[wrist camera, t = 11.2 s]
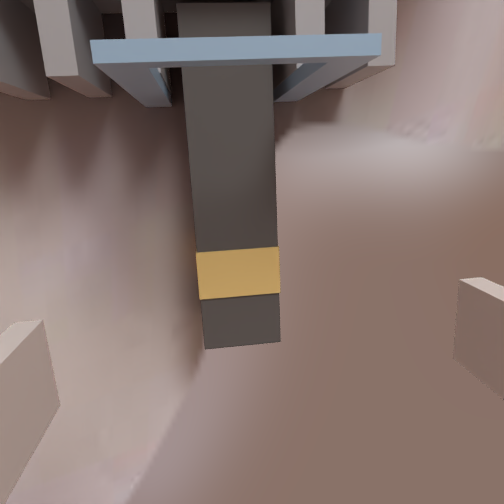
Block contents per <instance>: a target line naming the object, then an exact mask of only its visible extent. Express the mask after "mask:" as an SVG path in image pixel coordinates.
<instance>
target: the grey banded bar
mask: <svg viewBox="0 0 504 504" xmlns="http://www.w3.org/2000/svg"><path fill="white" fill-rule="evenodd" d="M176 7H177V19H178V31H179V38H192V37H236V36H271V5H270V3H176ZM181 68H182V80H183V92H184V104H185V116H186V128H187V140H188V152H189V164H190V176H191V188H192V200H193V213H194V225H195V237H196V262H197V274H198V286H199V298H200V300H201V309H202V321H203V333H204V345H205V349H214V348H223V347H234V346H242V345H243V346H244V345H253V344H263V343H274V342H280V307H279V293H280V262H279V246H278V240H277V207H276V176H275V175H276V173H275V139H274V106H273V72H272V64H262V65H230V66H197V67H181Z"/></svg>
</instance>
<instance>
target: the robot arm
mask: <svg viewBox="0 0 504 504" xmlns="http://www.w3.org/2000/svg"><path fill="white" fill-rule="evenodd" d="M453 359H454V360H455V361H457V362H458V363H459V364H460V365H462V366H463V367H464V368H465V369H466V370H468V371H469V372H470V373H472V374H473V375H474V376H475V377H476V378H478V379H479V380H480V381H481V382H482V383H484V384H485V385H486V386H487V387H489V388H490V389H491V390H492V391H493V392H495V393H496V394H497V395H498V396H500V397H501V398H502V399H503V400H504V287H503V286H501V285H498V284H496V283H494V282H491V281H489V280H487V279H485V278H482V277H481V278H469V279H460V280H459V289H458V301H457V314H456V326H455V338H454V350H453ZM59 407H60V401H59V396H58V391H57V386H56V381H55V377H54V372H53V367H52V362H51V357H50V352H49V347H48V342H47V337H46V332H45V327H44V322H43V320H35V321H25V322H15V323H13V324H12V325H11V326H10V327H9V328H8V329H6V330H5V331H4V332H3V333H2V334H1V335H0V504H5V502H6V501H7V499H8V497H9V495H10V494H11V492H12V490H13V488H14V486H15V485H16V483H17V481H18V479H19V478H20V476H21V474H22V472H23V470H24V469H25V467H26V465H27V463H28V462H29V460H30V458H31V456H32V455H33V453H34V451H35V449H36V447H37V446H38V444H39V442H40V440H41V439H42V437H43V435H44V433H45V431H46V430H47V428H48V426H49V424H50V423H51V421H52V419H53V417H54V416H55V414H56V412H57V410H58V408H59Z"/></svg>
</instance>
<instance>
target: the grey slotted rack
mask: <svg viewBox="0 0 504 504" xmlns="http://www.w3.org/2000/svg"><path fill="white" fill-rule="evenodd" d="M176 3H270V5H271V36H279V35H323V34H366V33H382V42H381V56H379V57H377V58H375V59H373V60H371V61H370V62H368V63H366V64H364V65H362V66H361V67H359V68H357V69H355V70H353V71H351V72H350V73H348V74H346V75H344V76H342V77H341V78H339V79H337V80H335V81H333V82H331V83H330V84H328V85H326V86H325V89H334V88H346V87H349V86H351V85H353V84H355V83H357V82H359V81H362V80H364V79H366V78H368V77H370V76H373V75H375V74H377V73H379V72H381V71H383V70H386V69H388V68H390V67H392V66H394V65H395V50H396V21H397V0H0V92H2V93H5V94H8V95H12V96H15V97H18V98H21V99H25V100H46V99H51V96H50V90H49V85H48V79H47V77H48V78H50V79H52V80H54V81H56V82H58V83H60V84H62V85H64V86H66V87H68V88H70V89H72V90H74V91H77V92H79V93H81V94H83V95H85V96H87V97H89V98H98V97H112V90H111V82H110V77H109V76H108V75H106V74H105V73H104V72H103V71H102V70H100V69H99V68H98V67H97V66H96V65H94V64H93V59H92V52H91V45H90V40H105V37H104V29H103V22H102V14H101V13H123V20H124V28H125V37H126V39H149V38H167V37H166V27H165V17H164V12H177V7H176ZM302 64H303V63H295V64H272V72H273V90H274V89H275V88H276V87H277V86H279V85H280V84H281V83H282V82H283V81H284V80H285V79H286V78H288V77H289V76H290V75H291V74H292V73H293V72H294V71H295V70H297V69H298V68H299V67H300V66H301V65H302ZM157 69H158V71H159V73H160V74H161V76H162V78H163V80H164V82H165V84H166V86H167V88H168V90H169V92H170V94H171V95H172V89H171V79H170V68H169V67H165V68H157Z"/></svg>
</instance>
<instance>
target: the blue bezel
mask: <svg viewBox="0 0 504 504" xmlns="http://www.w3.org/2000/svg"><path fill="white" fill-rule="evenodd" d="M381 42H382V33H366V34H323V35H279V36H236V37H192V38H149V39H105V40H90V45H91V52H92V59H93V64H94V65H96V66H97V67H98V68H99V69H100V70H102V71H103V72H104V73H105V74H106V75H108V76H109V77H110V78H111V79H112V80H114V81H115V82H116V83H117V84H118V85H120V86H121V87H122V88H123V89H124V90H126V91H127V92H128V93H129V94H131V95H132V96H133V97H134V98H135V99H137V100H138V101H139V102H140V103H141V104H143V105H144V106H145V107H170V106H172V99H171V94H170V92H169V90H168V88H167V86H166V84H165V82H164V80H163V78H162V76H161V74H160V73H159V71H158V69H157V68H165V67H197V66H230V65H262V64H295V63H303V64H302V65H301V66H300V67H299V68H298V69H297V70H295V71H294V72H293V73H292V74H291V75H290V76H289V77H288V78H286V79H285V80H284V81H283V82H282V83H281V84H280V85H279V86H277V87H276V88H275V89H274V90H273V102H291V101H299V100H301V99H302V98H304V97H306V96H308V95H310V94H311V93H313V92H315V91H317V90H319V89H321V88H322V87H324V86H326V85H328V84H330V83H331V82H333V81H335V80H337V79H339V78H341V77H342V76H344V75H346V74H348V73H350V72H351V71H353V70H355V69H357V68H359V67H361V66H362V65H364V64H366V63H368V62H370V61H371V60H373V59H375V58H377V57H379V56H381Z"/></svg>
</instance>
